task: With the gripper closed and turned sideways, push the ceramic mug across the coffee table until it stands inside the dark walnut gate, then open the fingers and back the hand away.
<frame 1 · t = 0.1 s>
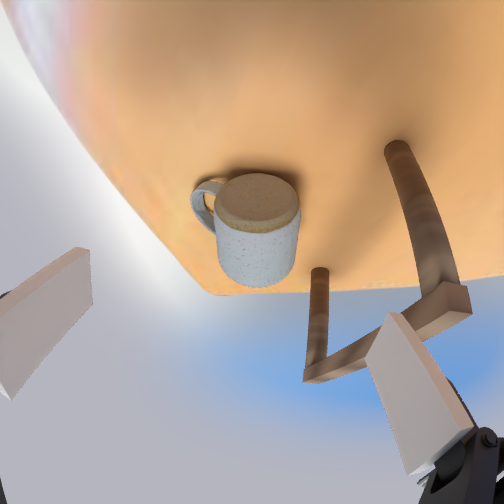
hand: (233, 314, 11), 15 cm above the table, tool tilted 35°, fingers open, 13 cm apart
ceramic mug: (248, 199, 27), on the table
walnut gate: (352, 225, 27), on the table
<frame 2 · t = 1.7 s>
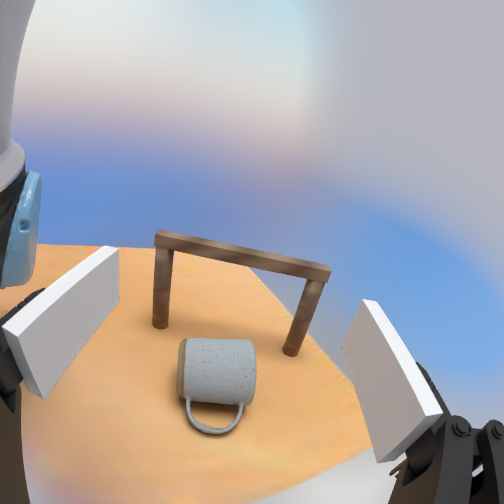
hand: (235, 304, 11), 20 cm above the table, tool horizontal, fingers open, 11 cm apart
ceramic mug: (213, 400, 28), on the table
walnut gate: (224, 339, 39), on the table
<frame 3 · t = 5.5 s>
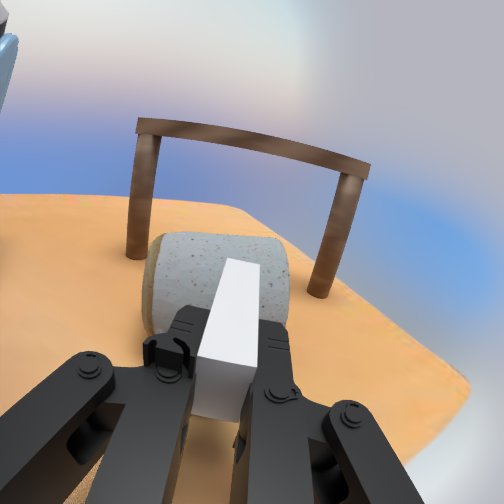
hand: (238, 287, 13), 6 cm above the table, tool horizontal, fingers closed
ceramic mug: (210, 352, 17), on the table, touching gripper
walnut gate: (225, 274, 28), on the table
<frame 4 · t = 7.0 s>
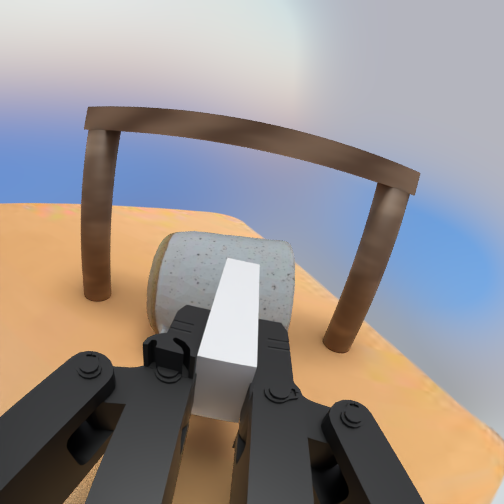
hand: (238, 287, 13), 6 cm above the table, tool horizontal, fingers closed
ceramic mug: (214, 352, 17), on the table, touching gripper
walnut gate: (213, 323, 20), on the table
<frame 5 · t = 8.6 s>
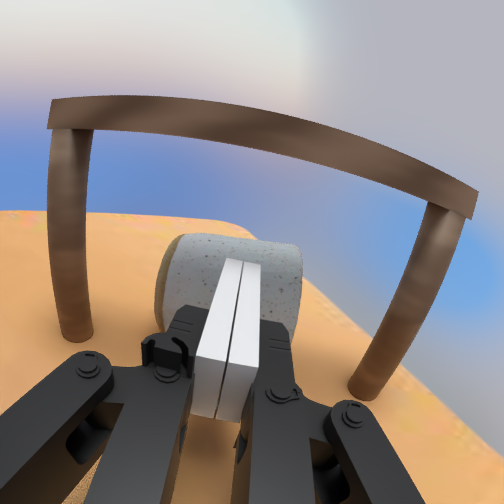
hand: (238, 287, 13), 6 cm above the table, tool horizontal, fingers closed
ceramic mug: (221, 354, 17), on the table, touching gripper
walnut gate: (217, 372, 16), on the table
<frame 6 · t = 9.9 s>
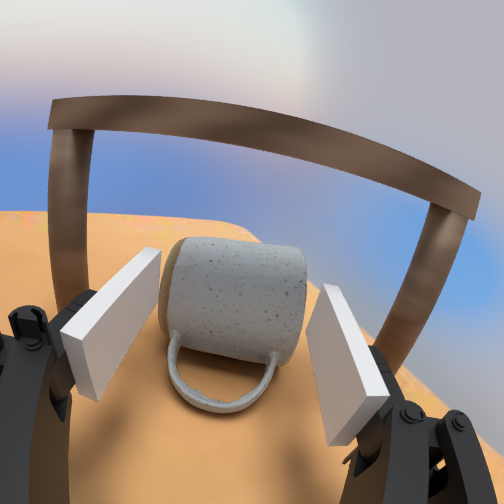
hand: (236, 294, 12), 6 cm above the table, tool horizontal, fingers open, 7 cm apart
ceramic mug: (225, 357, 17), on the table
walnut gate: (219, 374, 15), on the table
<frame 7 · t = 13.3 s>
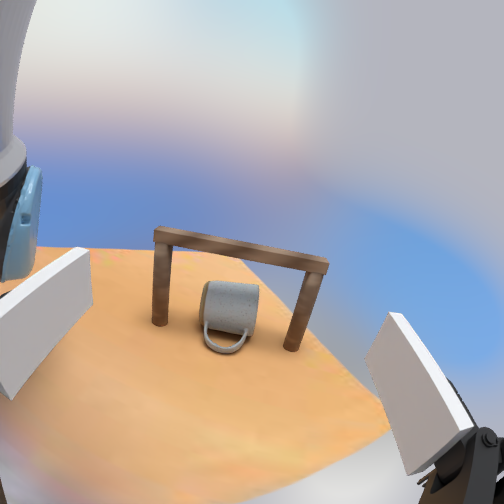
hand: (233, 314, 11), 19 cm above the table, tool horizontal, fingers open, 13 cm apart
ceramic mug: (226, 333, 40), on the table
walnut gate: (224, 335, 39), on the table
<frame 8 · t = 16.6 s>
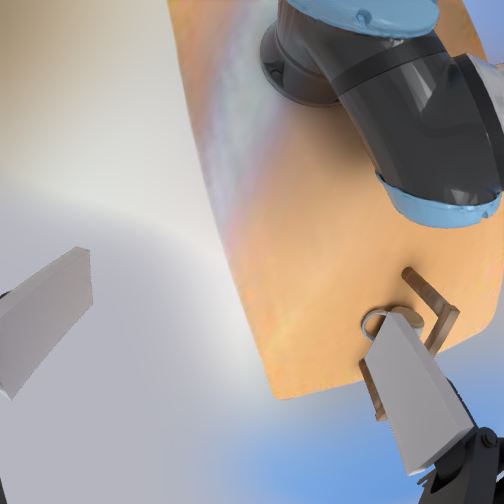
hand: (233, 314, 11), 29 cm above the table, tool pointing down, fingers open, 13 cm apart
ceramic mug: (385, 322, 45), on the table
walnut gate: (385, 322, 44), on the table
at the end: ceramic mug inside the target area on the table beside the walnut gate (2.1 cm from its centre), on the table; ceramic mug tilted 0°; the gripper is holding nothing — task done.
